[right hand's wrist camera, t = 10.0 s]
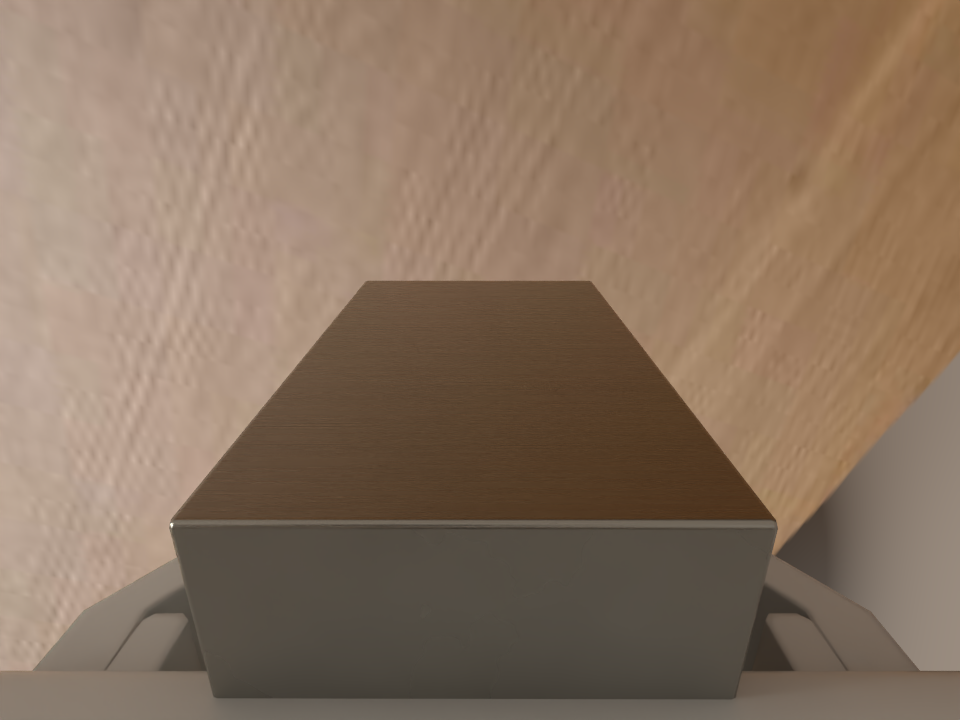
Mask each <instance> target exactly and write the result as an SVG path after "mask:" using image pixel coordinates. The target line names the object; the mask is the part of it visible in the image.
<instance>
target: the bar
mask: <svg viewBox="0 0 960 720" xmlns="http://www.w3.org/2000/svg"><path fill="white" fill-rule="evenodd" d="M777 530H778V528H777V523H776V520H775V518H774V517H773V516H772V515H771V513H770V512H769V511H768V509H767V508H766V507H765V506H764V504H763V503H762V502H761V500H760V499H759V498H758V497H757V495H756V494H755V493H754V491H753V490H752V489H751V487H750V486H749V485H748V484H747V482H746V481H745V480H744V478H743V477H742V476H741V475H740V473H739V472H738V471H737V469H736V468H735V467H734V465H733V464H732V463H731V462H730V460H729V459H728V458H727V456H726V455H725V454H724V453H723V451H722V450H721V449H720V447H719V446H718V445H717V443H716V442H715V441H714V440H713V438H712V437H711V436H710V434H709V433H708V432H707V431H706V429H705V428H704V427H703V425H702V424H701V423H700V422H699V420H698V419H697V418H696V416H695V415H694V414H693V412H692V411H691V410H690V409H689V407H688V406H687V405H686V403H685V402H684V401H683V400H682V398H681V397H680V396H679V394H678V393H677V392H676V390H675V389H674V388H673V387H672V385H671V384H670V383H669V381H668V380H667V379H666V378H665V376H664V375H663V374H662V372H661V371H660V370H659V368H658V367H657V366H656V365H655V363H654V362H653V361H652V359H651V358H650V357H649V356H648V354H647V353H646V352H645V350H644V349H643V348H642V347H641V345H640V344H639V343H638V341H637V340H636V339H635V337H634V336H633V335H632V334H631V332H630V331H629V330H628V328H627V327H626V326H625V325H624V323H623V322H622V321H621V319H620V318H619V317H618V315H617V314H616V313H615V312H614V310H613V309H612V308H611V306H610V305H609V304H608V303H607V301H606V300H605V299H604V297H603V296H602V295H601V293H600V292H599V291H598V290H597V288H596V287H595V286H594V284H593V283H592V282H591V281H366V282H365V283H364V284H363V285H362V287H361V288H360V289H359V290H358V292H357V293H356V294H355V295H354V296H353V298H352V299H351V300H350V301H349V303H348V304H347V305H346V306H345V308H344V309H343V310H342V311H341V312H340V314H339V315H338V316H337V317H336V319H335V320H334V321H333V322H332V323H331V325H330V326H329V327H328V328H327V330H326V331H325V332H324V333H323V334H322V336H321V337H320V338H319V339H318V341H317V342H316V343H315V344H314V345H313V347H312V348H311V349H310V350H309V352H308V353H307V354H306V355H305V356H304V358H303V359H302V360H301V361H300V363H299V364H298V365H297V366H296V367H295V369H294V370H293V371H292V372H291V374H290V375H289V376H288V377H287V378H286V380H285V381H284V382H283V383H282V385H281V386H280V387H279V388H278V389H277V391H276V392H275V393H274V394H273V396H272V397H271V398H270V399H269V400H268V402H267V403H266V404H265V405H264V407H263V408H262V409H261V410H260V411H259V413H258V414H257V415H256V416H255V418H254V419H253V420H252V421H251V422H250V424H249V425H248V426H247V427H246V429H245V430H244V431H243V432H242V433H241V435H240V436H239V437H238V438H237V440H236V441H235V442H234V443H233V444H232V446H231V447H230V448H229V449H228V451H227V452H226V453H225V454H224V455H223V457H222V458H221V459H220V460H219V462H218V463H217V464H216V465H215V466H214V468H213V469H212V470H211V471H210V473H209V474H208V475H207V476H206V477H205V479H204V480H203V481H202V482H201V484H200V485H199V486H198V487H197V488H196V490H195V491H194V492H193V493H192V495H191V496H190V497H189V498H188V499H187V501H186V502H185V503H184V504H183V506H182V507H181V508H180V509H179V511H178V512H177V513H176V514H175V515H174V517H173V518H172V519H171V522H170V532H171V536H172V540H173V544H174V548H175V551H176V555H177V559H178V563H179V567H180V571H181V574H182V578H183V582H184V586H185V590H186V594H187V597H188V601H189V605H190V609H191V613H192V617H193V621H194V624H195V628H196V632H197V636H198V640H199V644H200V647H201V651H202V655H203V659H204V663H205V667H206V671H207V674H208V678H209V682H210V686H211V690H212V694H213V697H215V698H298V699H734V698H736V694H737V690H738V686H739V682H740V678H741V674H742V670H743V666H744V662H745V658H746V654H747V650H748V646H749V642H750V638H751V634H752V630H753V626H754V622H755V618H756V614H757V610H758V606H759V602H760V598H761V594H762V590H763V586H764V582H765V578H766V574H767V570H768V566H769V562H770V558H771V554H772V550H773V546H774V542H775V538H776V534H777Z"/></svg>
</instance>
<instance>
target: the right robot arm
mask: <svg viewBox="0 0 960 720" xmlns="http://www.w3.org/2000/svg"><path fill="white" fill-rule="evenodd" d="M0 720H960V671H920V670H919V669H918V668H917V667H916V666H915V664H914V663H913V662H912V661H911V660H910V659H909V657H908V656H907V655H906V654H905V652H904V651H903V650H902V649H901V648H900V646H899V645H898V644H897V643H896V642H895V640H894V639H893V638H892V637H891V635H890V634H889V633H888V632H887V631H886V629H885V628H884V627H883V626H882V625H881V623H880V622H879V621H878V620H877V619H876V617H875V616H874V615H873V614H872V613H871V612H870V611H869V610H867V609H865V608H863V607H862V606H860V605H858V604H857V603H855V602H853V601H851V600H850V599H848V598H846V597H844V596H843V595H841V594H839V593H838V592H836V591H834V590H832V589H831V588H829V587H827V586H826V585H824V584H822V583H820V582H819V581H817V580H815V579H814V578H812V577H810V576H808V575H807V574H805V573H803V572H801V571H800V570H798V569H796V568H795V567H793V566H791V565H789V564H788V563H786V562H784V561H782V560H781V559H779V558H777V557H776V556H774V555H772V554H771V558H770V562H769V566H768V570H767V574H766V578H765V582H764V586H763V590H762V594H761V598H760V602H759V606H758V610H757V614H756V618H755V622H754V626H753V630H752V634H751V638H750V642H749V646H748V650H747V654H746V658H745V662H744V666H743V670H742V674H741V678H740V682H739V686H738V690H737V694H736V698H734V699H298V698H215V697H213V694H212V690H211V686H210V682H209V678H208V674H207V671H206V667H205V663H204V659H203V655H202V651H201V647H200V644H199V640H198V636H197V632H196V628H195V624H194V621H193V617H192V613H191V609H190V605H189V601H188V597H187V594H186V590H185V586H184V582H183V578H182V574H181V571H180V567H179V563H178V559H177V558H175V559H173V560H171V561H170V562H168V563H166V564H164V565H163V566H161V567H159V568H157V569H156V570H154V571H152V572H150V573H149V574H147V575H145V576H143V577H142V578H140V579H138V580H136V581H135V582H133V583H131V584H129V585H128V586H126V587H124V588H122V589H121V590H119V591H117V592H115V593H114V594H112V595H110V596H109V597H107V598H105V599H103V600H102V601H100V602H98V603H96V604H95V605H93V606H91V607H89V608H88V609H86V610H84V611H83V612H82V613H81V614H80V615H79V617H78V618H77V619H76V620H75V621H74V623H73V624H72V625H71V626H70V627H69V628H68V630H67V631H66V632H65V633H64V634H63V636H62V637H61V638H60V639H59V640H58V641H57V643H56V644H55V645H54V646H53V647H52V648H51V650H50V651H49V652H48V653H47V654H46V656H45V657H44V658H43V659H42V660H41V661H40V663H39V664H38V665H37V666H36V667H35V668H34V670H33V671H0Z"/></svg>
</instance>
